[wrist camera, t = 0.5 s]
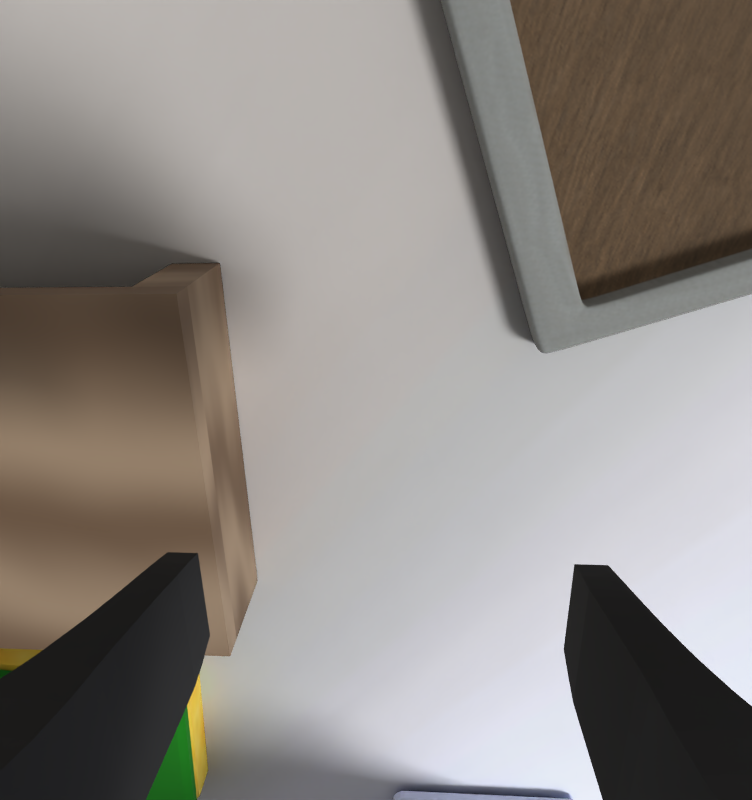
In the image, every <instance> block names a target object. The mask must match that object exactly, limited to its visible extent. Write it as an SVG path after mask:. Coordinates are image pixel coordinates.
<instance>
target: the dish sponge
mask: <svg viewBox="0 0 752 800" xmlns="http://www.w3.org/2000/svg"><path fill="white" fill-rule="evenodd" d="M41 651H42V650H32V649H3V648H0V678H2V677H3V676H5V675H6V674H8V673H10V672H11V671H13V670H14V669H16V668H17V667H19V666H20V665H22V664H23V663H25V662H26V661H28V660H29V659H31V658H32V657H34V656H35V655H37V654H38V653H39V652H41ZM207 772H208V764H207V753H206V742H205V731H204V720H203V708H202V697H201V686H200V675H199V676H198V679H197V682H196V685H195V688H194V690H193V693H192V695H191V697H190V700H189V702H188V704H187V707H186V709H185V711H184V714H183V716H182V718H181V721H180V723H179V725H178V728H177V730H176V732H175V734H174V737H173V739H172V741H171V744H170V746H169V748H168V750H167V753H166V755H165V757H164V760H163V762H162V764H161V766H160V769H159V771H158V773H157V776H156V778H155V780H154V782H153V785H152V787H151V789H150V792H149V794H148V796H147V798H146V800H197V798H198V797H199V796H200V793H201V790H202V787H203V784H204V781H205V778H206V775H207Z"/></svg>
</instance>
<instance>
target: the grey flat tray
mask: <svg viewBox="0 0 752 800" xmlns="http://www.w3.org/2000/svg"><path fill="white" fill-rule="evenodd" d="M440 1H441V5H442V8H443V12H444V16H445V19H446V23H447V27H448V31H449V34H450V38H451V42H452V45H453V49H454V53H455V56H456V60H457V64H458V67H459V71H460V75H461V79H462V82H463V86H464V90H465V93H466V97H467V101H468V104H469V108H470V112H471V115H472V119H473V123H474V126H475V130H476V134H477V138H478V141H479V145H480V149H481V152H482V156H483V160H484V163H485V167H486V171H487V174H488V178H489V182H490V186H491V189H492V193H493V197H494V200H495V204H496V208H497V211H498V215H499V219H500V222H501V226H502V230H503V233H504V237H505V241H506V245H507V248H508V252H509V256H510V259H511V263H512V267H513V270H514V274H515V278H516V281H517V285H518V289H519V293H520V296H521V300H522V304H523V307H524V311H525V315H526V318H527V322H528V325H529V329H530V332H531V335H532V338H533V341H534V343H535V345H536V347H537V349H538V350H539V351H540V352H542V353H551V352H556V351H559V350H563V349H566V348H570V347H573V346H577V345H581V344H584V343H587V342H591V341H594V340H597V339H601V338H604V337H608V336H611V335H614V334H618V333H621V332H625V331H628V330H631V329H635V328H638V327H641V326H645V325H648V324H652V323H655V322H658V321H662V320H665V319H669V318H672V317H675V316H679V315H682V314H685V313H689V312H692V311H696V310H699V309H702V308H706V307H709V306H713V305H716V304H719V303H723V302H726V301H729V300H733V299H736V298H740V297H743V296H746V295H750V294H752V0H440Z"/></svg>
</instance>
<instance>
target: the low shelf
mask: <svg viewBox="0 0 752 800" xmlns="http://www.w3.org/2000/svg"><path fill="white" fill-rule="evenodd" d="M167 552H180V553H198V556H199V563H200V570H201V577H202V584H203V590H204V597H205V604H206V611H207V618H208V624H209V631H210V638H209V641H208V645H207V648H206V652H205V655H209V656H230V655H231V652H232V650H233V647H234V644H235V641H236V639H237V636H238V633H239V630H240V627H241V625H242V622H243V619H244V616H245V614H246V611H247V608H248V605H249V603H250V600H251V597H252V594H253V592H254V589H255V586H256V583H257V571H256V563H255V555H254V546H253V538H252V529H251V521H250V513H249V504H248V496H247V487H246V479H245V471H244V462H243V454H242V445H241V437H240V428H239V420H238V412H237V403H236V395H235V386H234V378H233V370H232V361H231V353H230V344H229V336H228V327H227V319H226V311H225V302H224V294H223V285H222V277H221V269H220V263H187V264H171V265H169V266H167V267H165V268H164V269H162V270H160V271H158V272H157V273H155V274H153V275H151V276H150V277H148V278H146V279H144V280H143V281H141V282H139V283H138V284H136V285H134V286H132V287H36V288H0V648H3V649H32V650H44V649H45V648H46V647H48V646H49V645H50V644H52V643H53V642H54V641H56V640H57V639H58V638H60V637H61V636H62V635H64V634H65V633H67V632H68V631H69V630H71V629H72V628H73V627H75V626H76V625H77V624H79V623H80V622H81V621H83V620H84V619H85V618H87V617H88V616H89V615H91V614H92V613H93V612H94V611H96V610H97V609H98V608H99V607H100V606H102V605H103V604H104V603H105V602H107V601H108V600H109V599H110V598H112V597H113V596H114V595H115V594H117V593H118V592H119V591H120V590H122V589H123V588H124V587H125V586H126V585H128V584H129V583H130V582H131V581H132V580H134V579H135V578H136V577H137V576H138V575H140V574H141V573H142V572H143V571H145V570H146V569H147V568H148V567H149V566H151V565H152V564H153V563H154V562H156V561H157V560H158V559H159V558H161V557H162V556H163V555H165V554H166V553H167Z"/></svg>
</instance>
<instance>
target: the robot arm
mask: <svg viewBox="0 0 752 800" xmlns="http://www.w3.org/2000/svg"><path fill="white" fill-rule="evenodd" d="M209 638H210V631H209V624H208V618H207V611H206V604H205V597H204V590H203V584H202V577H201V570H200V563H199V556H198V553H180V552H167V553H166V554H165V555H163V556H162V557H161V558H159V559H158V560H157V561H156V562H154V563H153V564H152V565H151V566H149V567H148V568H147V569H146V570H145V571H143V572H142V573H141V574H140V575H138V576H137V577H136V578H135V579H134V580H132V581H131V582H130V583H129V584H128V585H126V586H125V587H124V588H123V589H122V590H120V591H119V592H118V593H117V594H115V595H114V596H113V597H112V598H110V599H109V600H108V601H107V602H105V603H104V604H103V605H102V606H100V607H99V608H98V609H97V610H96V611H94V612H93V613H92V614H91V615H89V616H88V617H87V618H85V619H84V620H83V621H81V622H80V623H79V624H77V625H76V626H75V627H73V628H72V629H71V630H69V631H68V632H67V633H65V634H64V635H62V636H61V637H60V638H58V639H57V640H56V641H54V642H53V643H52V644H50V645H49V646H48V647H46V648H45V649H44V650H42V651H41V652H39V653H38V654H37V655H35V656H34V657H32V658H31V659H29V660H28V661H26V662H25V663H23V664H22V665H20V666H19V667H17V668H16V669H14V670H13V671H11V672H10V673H8V674H6V675H5V676H3V677H2V678H0V800H146V798H147V796H148V794H149V792H150V789H151V787H152V785H153V782H154V780H155V778H156V776H157V773H158V771H159V769H160V766H161V764H162V762H163V760H164V757H165V755H166V753H167V750H168V748H169V746H170V744H171V741H172V739H173V737H174V734H175V732H176V730H177V728H178V725H179V723H180V721H181V718H182V716H183V714H184V711H185V709H186V707H187V704H188V702H189V700H190V697H191V695H192V693H193V690H194V688H195V685H196V682H197V679H198V676H199V672H200V669H201V666H202V663H203V659H204V655H205V652H206V648H207V645H208V641H209ZM564 653H565V659H566V665H567V671H568V677H569V682H570V687H571V693H572V698H573V703H574V706H575V710H576V713H577V716H578V720H579V723H580V726H581V730H582V733H583V736H584V740H585V743H586V746H587V750H588V753H589V756H590V759H591V763H592V766H593V769H594V772H595V776H596V779H597V782H598V785H599V789H600V792H601V795H602V798H603V800H752V706H751V705H749V704H748V703H747V702H746V701H745V700H743V699H742V698H741V697H740V696H739V695H737V694H736V693H735V692H734V691H733V690H731V689H730V688H729V687H728V686H727V685H726V684H725V683H724V682H723V681H721V680H720V679H719V678H718V677H717V676H716V675H715V674H714V673H713V672H711V671H710V670H709V669H708V668H707V667H706V666H705V665H704V664H703V663H701V662H700V661H699V660H698V659H697V658H696V657H695V656H694V655H693V654H692V653H691V652H690V651H689V650H688V649H687V648H686V647H685V646H684V645H683V644H682V643H681V642H680V641H679V640H678V639H677V638H676V637H675V636H674V635H673V634H672V633H671V632H670V631H669V630H668V629H667V628H666V627H665V626H664V625H663V624H662V623H661V622H660V621H659V620H658V619H657V618H656V617H655V616H654V615H653V613H652V612H651V611H650V610H649V609H648V608H647V607H646V606H645V605H644V604H643V603H642V602H641V601H640V599H639V598H638V597H637V596H636V595H635V594H634V593H633V592H632V591H631V590H630V589H629V587H628V586H627V585H626V584H625V583H624V582H623V581H622V580H621V579H620V578H619V577H618V576H617V574H616V573H615V572H614V571H613V570H612V569H611V568H610V567H609V566H608V565H578V564H575V565H574V573H573V581H572V589H571V597H570V605H569V612H568V620H567V628H566V636H565V644H564ZM393 800H572V799H564V798H543V797H523V796H502V795H481V794H460V793H440V792H419V791H400V792H397V793H396V794H395V795H394V797H393Z"/></svg>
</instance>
